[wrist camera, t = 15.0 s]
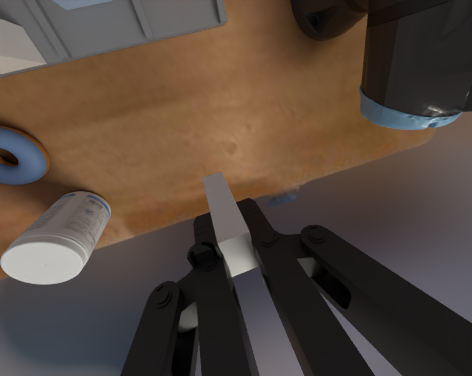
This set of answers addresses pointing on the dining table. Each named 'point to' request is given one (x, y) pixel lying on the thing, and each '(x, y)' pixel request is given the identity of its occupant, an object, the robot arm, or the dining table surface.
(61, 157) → the dining table surface
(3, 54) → the white rectangular block
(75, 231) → the supplement tub
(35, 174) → the doughnut
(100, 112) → the dining table surface
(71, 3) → the blue rectangular block
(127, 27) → the grey divided tray
